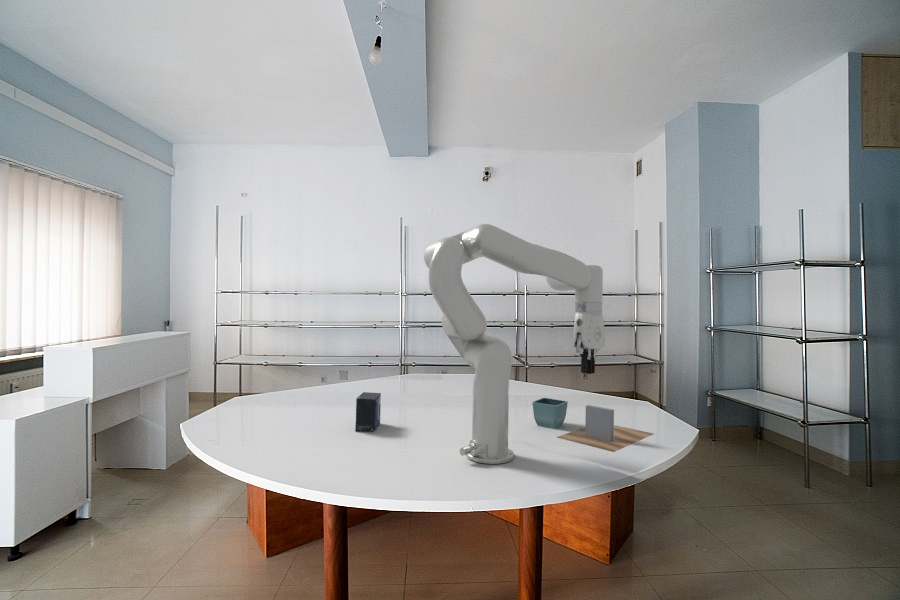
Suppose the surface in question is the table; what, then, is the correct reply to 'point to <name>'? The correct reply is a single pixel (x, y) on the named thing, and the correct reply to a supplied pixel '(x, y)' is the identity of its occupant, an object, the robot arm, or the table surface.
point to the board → (621, 440)
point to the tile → (599, 422)
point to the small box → (368, 411)
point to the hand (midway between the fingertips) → (587, 372)
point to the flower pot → (549, 412)
